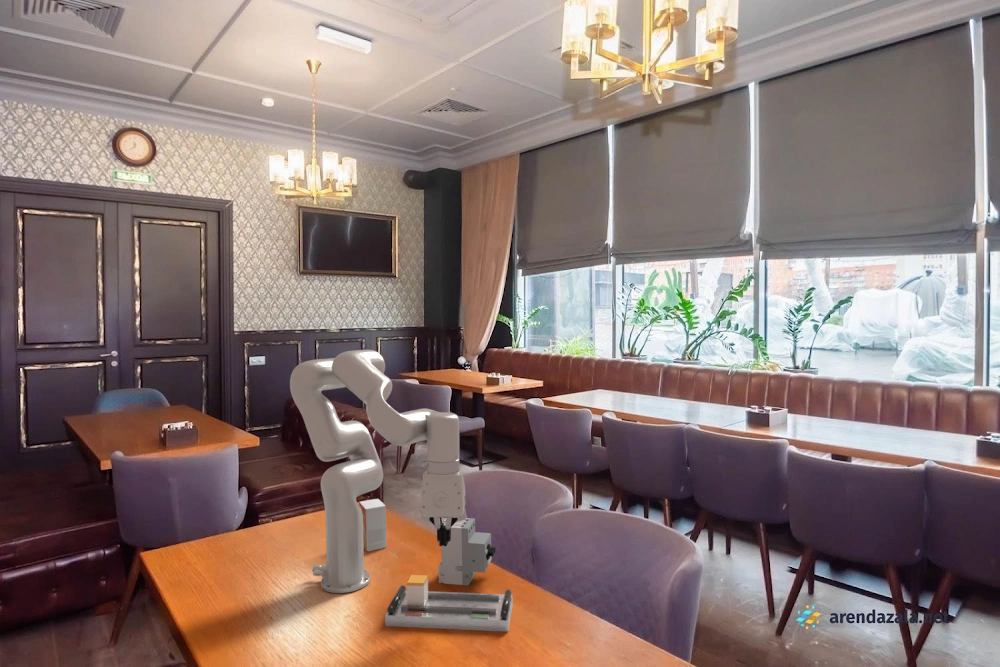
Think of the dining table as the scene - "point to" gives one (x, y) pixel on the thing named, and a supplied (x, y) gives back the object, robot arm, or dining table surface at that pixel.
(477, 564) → the circuit breaker
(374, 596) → the dining table surface
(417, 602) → the toggle
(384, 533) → the small box
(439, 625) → the panel
